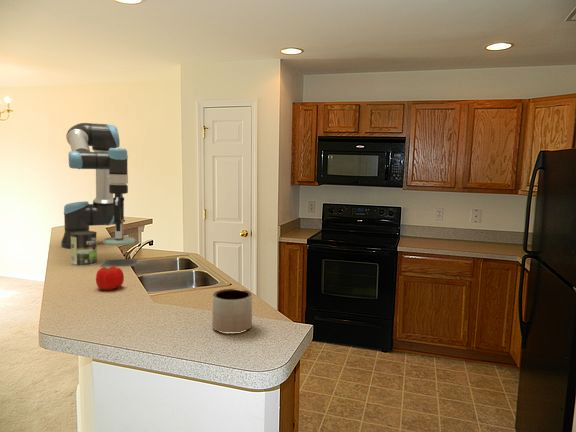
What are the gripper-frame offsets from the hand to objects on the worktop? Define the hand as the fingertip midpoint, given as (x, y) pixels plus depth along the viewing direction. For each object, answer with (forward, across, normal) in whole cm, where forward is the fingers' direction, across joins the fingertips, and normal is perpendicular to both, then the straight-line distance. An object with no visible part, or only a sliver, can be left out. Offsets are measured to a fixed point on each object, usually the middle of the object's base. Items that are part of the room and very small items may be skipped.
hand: (119, 237), depth 184 cm
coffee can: (+12, 0, -14) cm, 19 cm away
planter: (+10, +83, +41) cm, 93 cm away
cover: (+2, 0, 0) cm, 2 cm away
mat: (+12, +1, 0) cm, 12 cm away
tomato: (+11, +39, +2) cm, 40 cm away
